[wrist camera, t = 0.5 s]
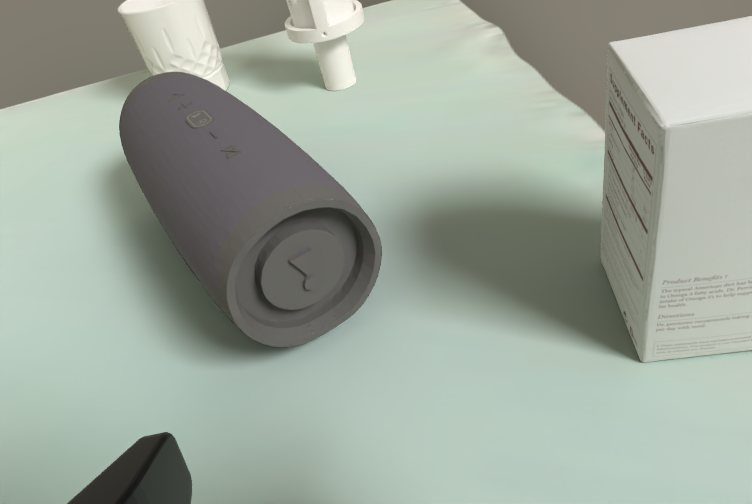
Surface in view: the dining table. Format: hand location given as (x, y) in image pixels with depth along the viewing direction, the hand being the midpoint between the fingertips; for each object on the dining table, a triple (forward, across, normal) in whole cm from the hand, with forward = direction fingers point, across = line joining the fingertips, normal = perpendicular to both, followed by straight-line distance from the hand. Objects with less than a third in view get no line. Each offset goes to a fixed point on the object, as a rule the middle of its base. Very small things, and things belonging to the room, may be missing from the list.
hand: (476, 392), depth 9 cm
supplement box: (+18, -13, +12) cm, 25 cm away
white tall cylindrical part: (+52, +2, +2) cm, 52 cm away
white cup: (+58, +17, 0) cm, 61 cm away
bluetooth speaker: (+31, +10, +9) cm, 33 cm away
